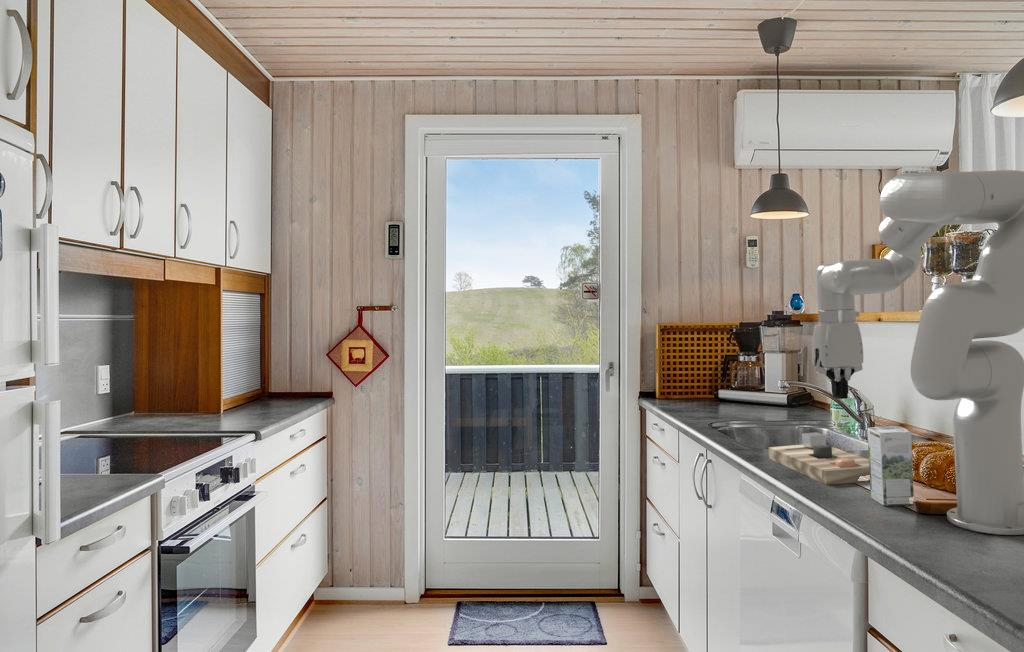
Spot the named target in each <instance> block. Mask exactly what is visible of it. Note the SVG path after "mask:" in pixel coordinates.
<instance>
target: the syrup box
mask: <svg viewBox="0 0 1024 652" xmlns="http://www.w3.org/2000/svg"><path fill="white" fill-rule="evenodd" d="M912 443H913V442H912V432H911V431H909V430H908V429H906V428H904V427H902V426H897V425H894V426H893V425H891V426H874V427H873V426H872V427H867V445H868V446H867V450H868V452H867V453H868V460H869V473H870V481H869V495H870V498H871V499H872V500H874V501H875V502H877V503H878V504H880V505H882V506H884V507H886V506H887V507H888V506H889V507H890V506H891V507H892V506H893V507H894V506H898V507H899V506H911V505H910V503H909V502H910V501H909V498H910V497H913V496H914V497H915V495H914V475H913V474H914V473H913V470H914V469H913V444H912Z"/></svg>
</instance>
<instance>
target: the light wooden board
mask: <svg viewBox="0 0 1024 652" xmlns="http://www.w3.org/2000/svg"><path fill="white" fill-rule="evenodd" d="M831 447H832V458H824V459H817V458H815V457H814V455H813V448H809V447H806V446H803V445H802V444H792V445H781V446H771V447H770V446H769V447H768V459H769V460H770V461H773V462H775V463H778V464H779V465H781V466H784V467H786V468H788V469H790V470H793V471H795V472H797V473H799V474H802V475H804V476H806V477H808V478H810V479H811V480H815V481H817V482H819V483H821V484H824V485H825V486H828V485H829V486H830V485H837V484H838V485H841V484H850V483H852V484H853V483H860V482H859V481H858V479H859V477H860V476H866V475H870V473H869V458H865V457H863V456H859V455H858V454H854V453H851V452H848V451H844V450H841V449H839V448H836V447H833V446H831ZM838 458H848V459H853V460H855V467H845V468H840V467H838V466H835V459H838Z"/></svg>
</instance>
